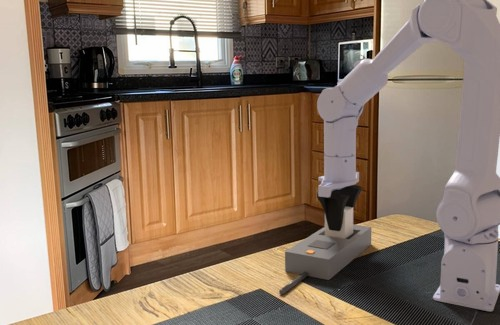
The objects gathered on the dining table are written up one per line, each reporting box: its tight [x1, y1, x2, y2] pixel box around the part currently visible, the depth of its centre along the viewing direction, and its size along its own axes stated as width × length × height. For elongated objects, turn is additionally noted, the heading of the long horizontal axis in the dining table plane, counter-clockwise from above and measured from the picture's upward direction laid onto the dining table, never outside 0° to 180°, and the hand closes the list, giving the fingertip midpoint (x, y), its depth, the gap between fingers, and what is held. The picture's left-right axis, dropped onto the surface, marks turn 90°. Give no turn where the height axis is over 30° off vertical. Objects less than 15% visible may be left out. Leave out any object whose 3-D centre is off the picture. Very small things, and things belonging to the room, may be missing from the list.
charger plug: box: [324, 206, 354, 239], centre depth 95 cm, size 4×4×5 cm
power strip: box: [278, 223, 372, 295], centre depth 89 cm, size 29×8×4 cm, turn 147°
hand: (339, 226), depth 95 cm, fingers closed on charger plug, 4 cm apart
